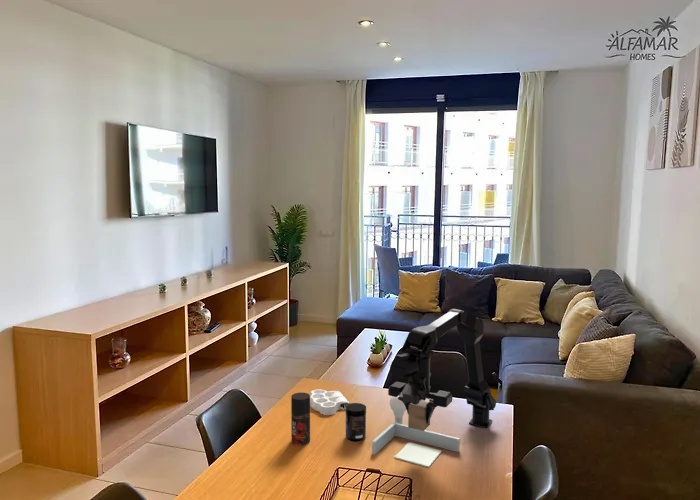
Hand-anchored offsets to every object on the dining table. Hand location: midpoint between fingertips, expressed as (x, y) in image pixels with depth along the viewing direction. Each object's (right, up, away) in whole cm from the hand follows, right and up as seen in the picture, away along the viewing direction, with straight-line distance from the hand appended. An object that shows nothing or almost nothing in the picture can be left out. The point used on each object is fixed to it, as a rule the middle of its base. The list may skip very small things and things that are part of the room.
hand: (419, 421), depth 157 cm
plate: (0, -11, +1) cm, 11 cm away
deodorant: (-37, -10, +9) cm, 39 cm away
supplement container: (-19, -10, +12) cm, 25 cm away
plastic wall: (-1, -10, +3) cm, 11 cm away
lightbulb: (-4, -9, +22) cm, 24 cm away
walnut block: (0, -2, 0) cm, 2 cm away
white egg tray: (-30, -7, +38) cm, 49 cm away
